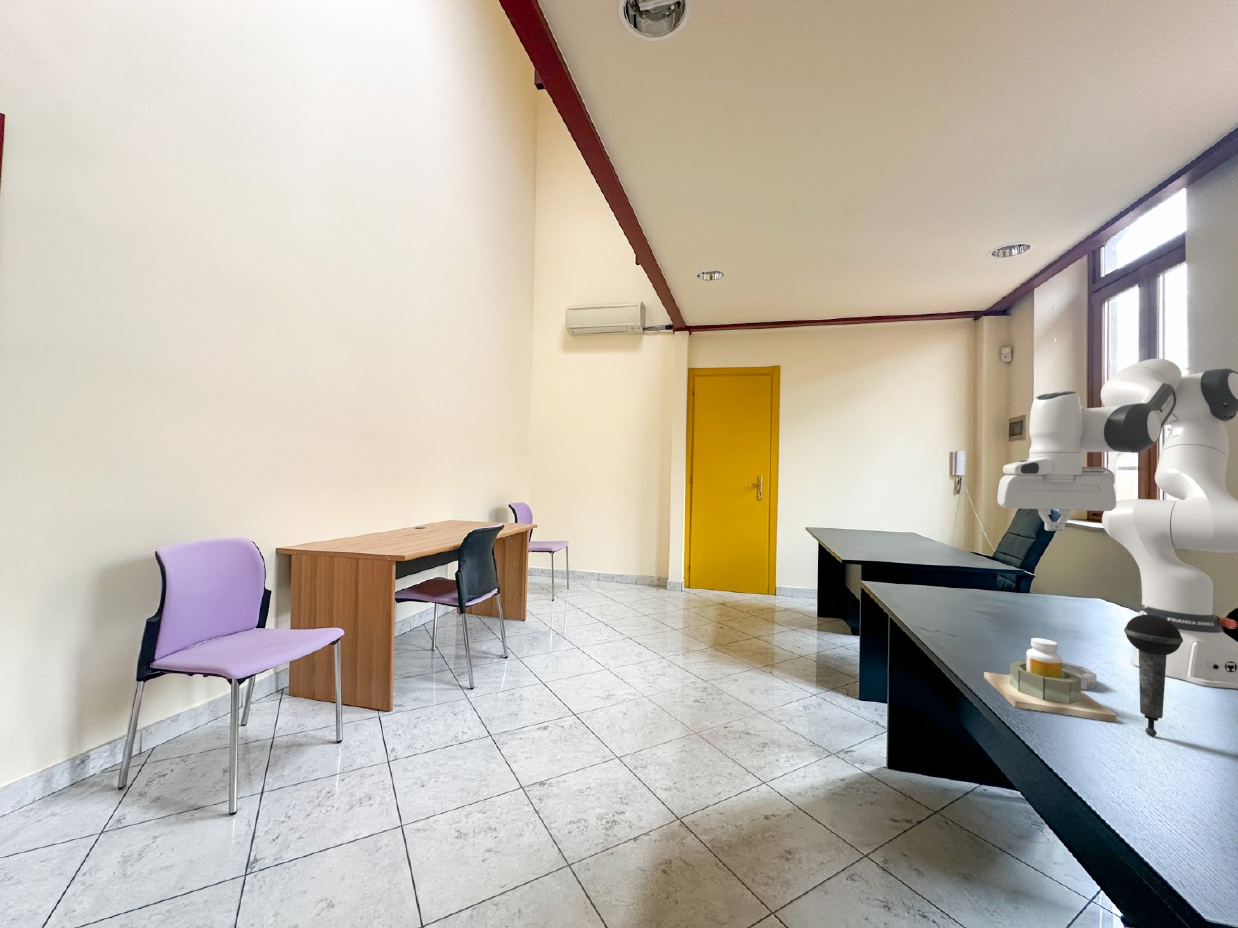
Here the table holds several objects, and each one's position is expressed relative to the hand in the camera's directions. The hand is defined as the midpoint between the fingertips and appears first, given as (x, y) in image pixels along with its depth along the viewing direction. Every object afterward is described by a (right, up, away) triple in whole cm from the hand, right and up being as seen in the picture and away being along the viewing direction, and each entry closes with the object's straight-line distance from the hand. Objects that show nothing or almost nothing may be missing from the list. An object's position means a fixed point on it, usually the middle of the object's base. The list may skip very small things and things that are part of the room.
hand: (1054, 530), depth 111 cm
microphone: (-5, -31, -25) cm, 41 cm away
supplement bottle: (-12, -30, -11) cm, 34 cm away
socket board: (-12, -31, -11) cm, 35 cm away
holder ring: (0, -32, -1) cm, 32 cm away
